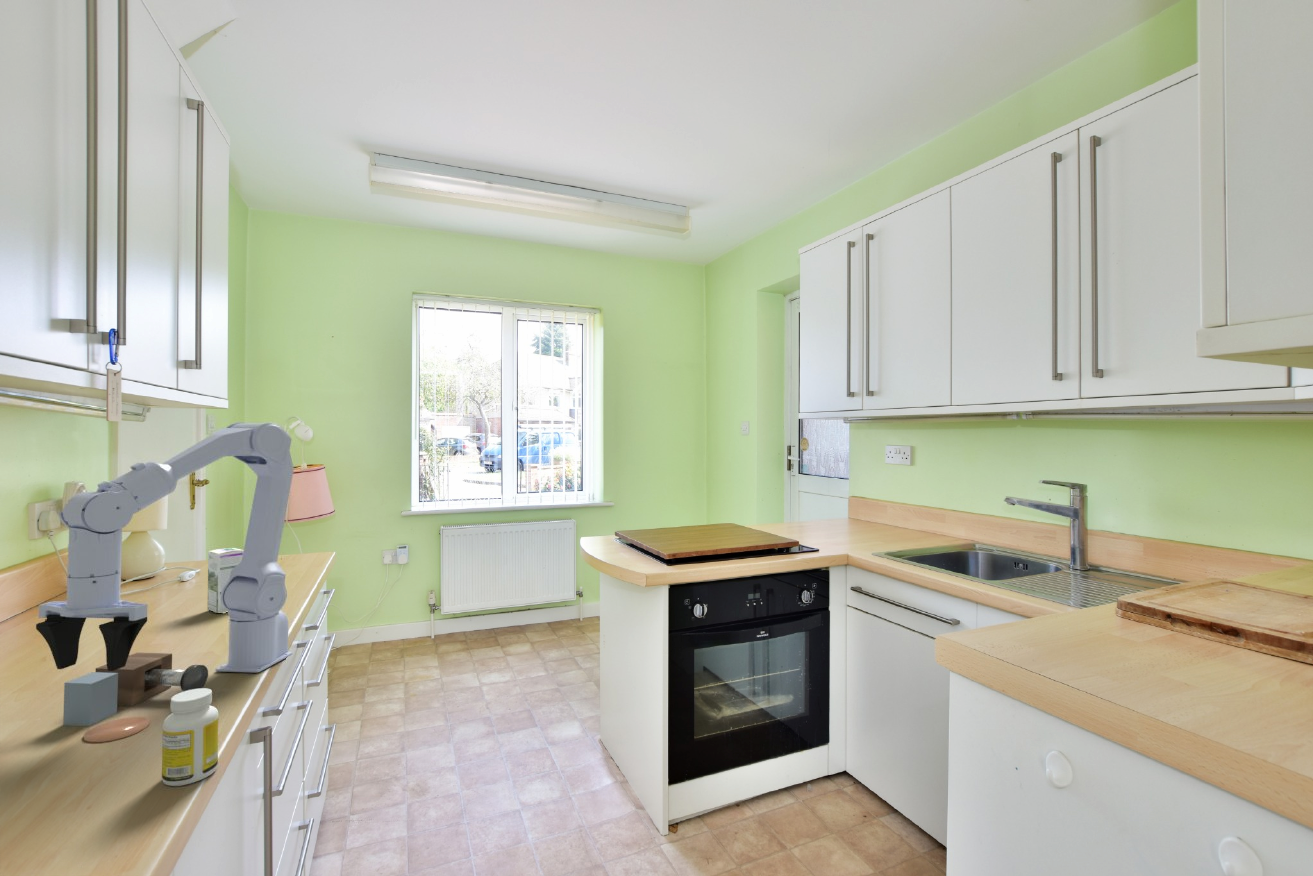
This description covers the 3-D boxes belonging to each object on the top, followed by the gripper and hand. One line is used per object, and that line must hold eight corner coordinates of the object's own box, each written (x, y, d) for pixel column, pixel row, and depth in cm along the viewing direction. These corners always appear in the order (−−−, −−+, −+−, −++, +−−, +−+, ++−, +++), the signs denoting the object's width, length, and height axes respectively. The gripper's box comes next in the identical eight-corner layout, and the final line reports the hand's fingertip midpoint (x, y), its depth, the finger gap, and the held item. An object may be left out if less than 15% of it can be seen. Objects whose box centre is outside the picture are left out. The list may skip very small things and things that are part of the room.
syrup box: (244, 609, 143) (246, 549, 143) (216, 615, 138) (218, 552, 138) (233, 605, 146) (235, 546, 146) (205, 611, 141) (207, 550, 141)
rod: (157, 684, 96) (158, 659, 96) (207, 686, 96) (208, 661, 96) (135, 694, 92) (135, 669, 92) (187, 696, 92) (188, 670, 92)
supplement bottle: (210, 758, 76) (212, 682, 76) (223, 773, 73) (225, 693, 73) (156, 776, 72) (158, 695, 72) (167, 793, 69) (169, 708, 69)
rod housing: (136, 685, 98) (137, 652, 98) (171, 687, 98) (172, 653, 98) (94, 704, 91) (95, 668, 91) (132, 705, 91) (133, 669, 91)
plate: (117, 718, 87) (117, 716, 87) (161, 719, 86) (162, 717, 86) (69, 741, 80) (69, 739, 80) (117, 743, 80) (117, 741, 80)
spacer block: (90, 712, 88) (92, 672, 89) (116, 713, 88) (118, 673, 88) (63, 725, 84) (64, 682, 85) (90, 726, 84) (91, 683, 84)
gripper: (16, 578, 83) (13, 676, 83) (116, 581, 82) (113, 679, 82) (68, 568, 90) (65, 658, 90) (161, 571, 89) (158, 661, 89)
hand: (91, 667), depth 86 cm, fingers open, 7 cm apart
